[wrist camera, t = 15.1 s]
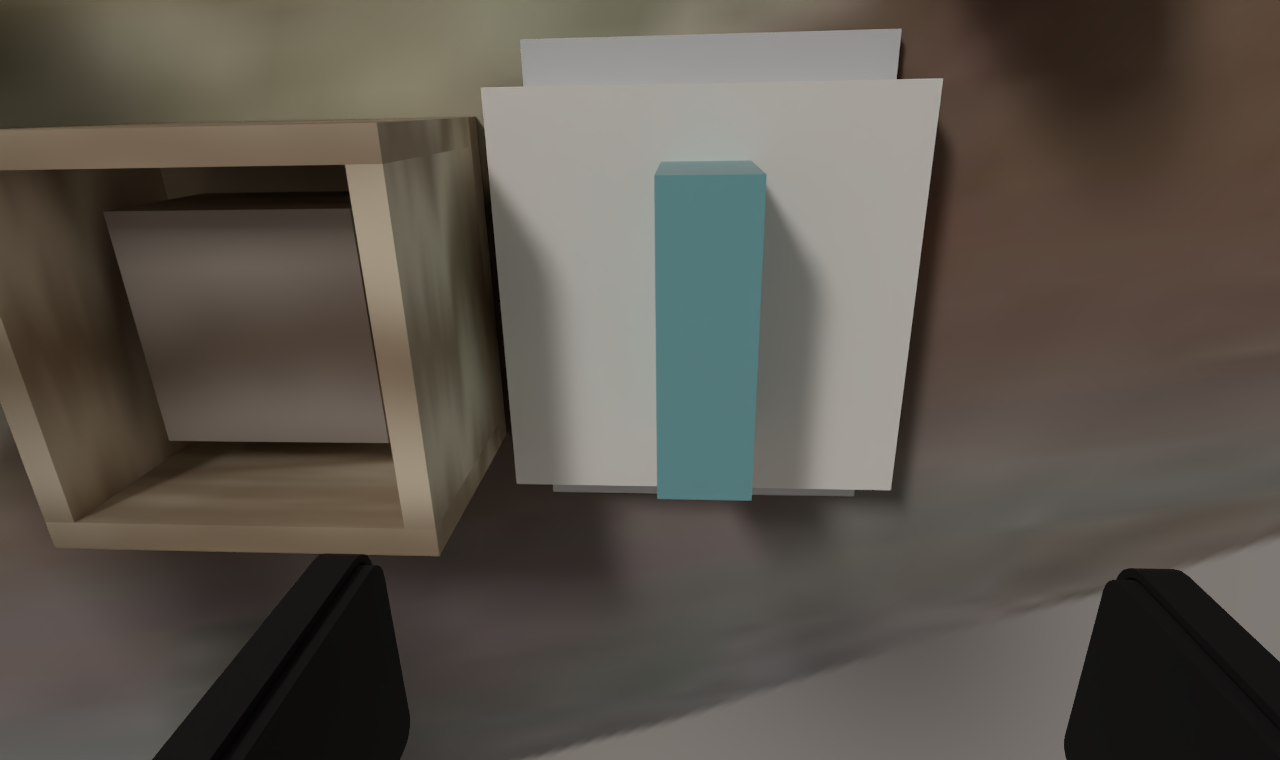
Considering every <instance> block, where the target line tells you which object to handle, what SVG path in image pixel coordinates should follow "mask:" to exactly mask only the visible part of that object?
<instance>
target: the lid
mask: <svg viewBox="0 0 1280 760" xmlns="http://www.w3.org/2000/svg"><path fill="white" fill-rule="evenodd" d="M942 84H943V78H938V79H887V80H836V81H786V82H735V83H685V84H634V85H583V86H533V87H482V88H481V95H482V107H483V118H484V129H485V140H486V151H487V162H488V173H489V184H490V195H491V206H492V217H493V228H494V239H495V250H496V261H497V272H498V283H499V294H500V305H501V316H502V327H503V338H504V350H505V361H506V372H507V383H508V394H509V405H510V416H511V427H512V438H513V449H514V460H515V471H516V482H517V484H552V485H610V486H657V499H688V500H743V501H752V488H785V489H843V490H891V485H892V477H893V469H894V461H895V453H896V446H897V438H898V430H899V422H900V414H901V406H902V398H903V391H904V383H905V375H906V367H907V359H908V351H909V343H910V336H911V328H912V320H913V312H914V304H915V296H916V288H917V281H918V273H919V265H920V257H921V249H922V241H923V233H924V226H925V218H926V210H927V202H928V194H929V186H930V178H931V170H932V163H933V155H934V147H935V139H936V131H937V123H938V115H939V108H940V100H941V92H942Z"/></svg>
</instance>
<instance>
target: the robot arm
mask: <svg viewBox="0 0 1280 760" xmlns="http://www.w3.org/2000/svg"><path fill="white" fill-rule="evenodd" d="M409 729H410V714H409V709H408V703H407V698H406V692H405V687H404V682H403V676H402V671H401V665H400V660H399V654H398V649H397V643H396V638H395V632H394V627H393V621H392V616H391V610H390V605H389V599H388V594H387V588H386V583H385V577H384V573H383V570H382V568H381V567H380V566H378V565H372V564H371V560H370V559H369V557H368V556H367V555H364V554H333V553H324V554H321V555H319V556H318V557H317V558H316V559H315V560H314V561H313V562H312V563H311V565H310V566H309V567H308V568H307V570H306V571H305V572H304V573H303V574H302V576H301V577H300V578H299V579H298V581H297V582H296V583H295V584H294V586H293V587H292V588H291V589H290V590H289V592H288V593H287V594H286V595H285V597H284V598H283V599H282V600H281V602H280V603H279V604H278V605H277V606H276V608H275V609H274V610H273V611H272V613H271V614H270V615H269V616H268V618H267V619H266V620H265V621H264V622H263V624H262V625H261V626H260V627H259V629H258V630H257V631H256V632H255V634H254V635H253V636H252V637H251V639H250V640H249V641H248V642H247V643H246V645H245V646H244V647H243V648H242V650H241V651H240V652H239V653H238V655H237V656H236V657H235V658H234V659H233V661H232V662H231V663H230V664H229V666H228V667H227V668H226V669H225V671H224V672H223V673H222V674H221V675H220V677H219V678H218V679H217V680H216V682H215V683H214V684H213V685H212V687H211V688H210V689H209V690H208V691H207V693H206V694H205V695H204V696H203V698H202V699H201V700H200V701H199V703H198V704H197V705H196V706H195V707H194V709H193V710H192V711H191V712H190V714H189V715H188V716H187V717H186V719H185V720H184V721H183V722H182V723H181V725H180V726H179V727H178V728H177V730H176V731H175V732H174V733H173V735H172V736H171V737H170V738H169V739H168V741H167V742H166V743H165V744H164V746H163V747H162V748H161V749H160V751H159V752H158V753H157V754H156V755H155V757H154V758H153V759H152V760H400V758H401V756H402V753H403V751H404V749H405V746H406V743H407V740H408V735H409ZM1064 750H1065V755H1066V759H1067V760H1280V662H1279V661H1278V660H1277V659H1276V658H1275V657H1274V656H1273V655H1272V654H1271V653H1270V652H1268V651H1267V650H1266V649H1265V648H1264V647H1263V646H1262V645H1261V644H1260V643H1259V642H1258V641H1257V640H1256V639H1254V637H1252V636H1251V635H1250V634H1249V633H1248V632H1247V631H1246V630H1245V629H1244V628H1243V627H1242V626H1241V625H1239V623H1238V622H1236V621H1235V620H1234V619H1233V618H1232V617H1231V616H1230V615H1229V614H1228V613H1227V612H1226V611H1225V610H1224V609H1222V607H1221V606H1220V605H1218V604H1217V603H1216V602H1215V601H1214V600H1213V599H1212V598H1211V597H1210V596H1209V595H1208V594H1207V593H1206V592H1204V591H1203V589H1201V588H1200V587H1199V586H1198V585H1197V584H1196V583H1195V582H1194V581H1193V580H1192V579H1191V578H1190V577H1189V576H1187V575H1186V574H1185V573H1183V572H1182V571H1179V570H1175V569H1134V568H1129V569H1125V570H1123V571H1122V572H1121V573H1120V574H1119V575H1118V577H1117V580H1112V581H1109V582H1108V583H1107V584H1106V585H1105V588H1104V590H1103V594H1102V598H1101V601H1100V605H1099V609H1098V613H1097V617H1096V620H1095V624H1094V628H1093V632H1092V635H1091V639H1090V643H1089V647H1088V651H1087V654H1086V658H1085V662H1084V666H1083V670H1082V674H1081V677H1080V681H1079V685H1078V689H1077V692H1076V697H1075V700H1074V704H1073V708H1072V711H1071V715H1070V719H1069V723H1068V727H1067V730H1066V734H1065V739H1064Z"/></svg>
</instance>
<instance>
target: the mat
mask: <svg viewBox="0 0 1280 760" xmlns="http://www.w3.org/2000/svg"><path fill="white" fill-rule="evenodd" d="M901 31H902V29H874V30H839V31H803V32H767V33H732V34H696V35H660V36H625V37H589V38H554V39H520V45H521V59H522V72H523V86H524V87H533V86H583V85H634V84H685V83H735V82H786V81H836V80H887V79H897V70H898V60H899V50H900V40H901ZM854 491H855V490H843V489H785V488H752V495H804V496H854ZM553 492H601V493H657V486H610V485H553Z"/></svg>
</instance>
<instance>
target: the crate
mask: <svg viewBox="0 0 1280 760" xmlns="http://www.w3.org/2000/svg"><path fill="white" fill-rule="evenodd" d="M0 403H1V406H2V408H3V411H4V414H5V416H6V419H7V422H8V424H9V427H10V430H11V432H12V435H13V438H14V440H15V443H16V446H17V448H18V451H19V454H20V456H21V459H22V461H23V464H24V467H25V469H26V472H27V475H28V477H29V480H30V483H31V485H32V488H33V491H34V493H35V496H36V499H37V501H38V504H39V507H40V509H41V512H42V515H43V517H44V520H45V523H46V525H47V528H48V531H49V533H50V536H51V539H52V541H53V544H54V547H55V548H72V549H119V550H166V551H214V552H261V553H308V554H324V553H333V554H364V555H403V556H440V555H441V553H442V551H443V549H444V547H445V545H446V544H447V542H448V540H449V538H450V536H451V535H452V533H453V531H454V529H455V527H456V525H457V524H458V522H459V520H460V518H461V516H462V515H463V513H464V511H465V509H466V507H467V505H468V504H469V502H470V500H471V498H472V496H473V495H474V493H475V491H476V489H477V487H478V486H479V484H480V482H481V480H482V478H483V476H484V475H485V473H486V471H487V469H488V467H489V466H490V464H491V462H492V460H493V458H494V456H495V455H496V453H497V451H498V449H499V447H500V446H501V444H502V442H503V440H504V438H505V436H506V435H507V431H506V421H505V410H504V400H503V390H502V380H501V369H500V359H499V349H498V339H497V328H496V318H495V308H494V297H493V287H492V277H491V267H490V256H489V246H488V236H487V226H486V215H485V205H484V195H483V185H482V174H481V164H480V154H479V143H478V133H477V123H476V117H447V118H399V119H351V120H303V121H255V122H207V123H159V124H124V125H96V126H67V127H39V128H11V129H0Z"/></svg>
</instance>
